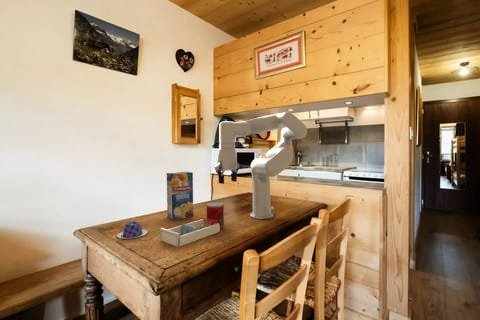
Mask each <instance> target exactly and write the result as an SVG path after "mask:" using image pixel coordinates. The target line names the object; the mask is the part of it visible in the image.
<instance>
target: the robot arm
mask: <svg viewBox="0 0 480 320" xmlns="http://www.w3.org/2000/svg"><path fill="white" fill-rule="evenodd" d="M218 128H219V129H218V130H219V133H218V134H219V135H218V136H219V150H218V152H217V159H216V160H217V161H216V165H215V166H214V170H215V172H216V175H217V176H218V177H217V178H218V184H221V185H224V184H225V175H224V174H225V172H226V171H231V174H230V176H231V177H230V179H231V182H234V183H235V182H237V181H238V179H237V175H238V171H239V169H240V166H241V165H240V163H238V158H237V151H236V138H244V137H247V136H249V135H251V134H252V135H253V134H254V135H255V134H262V133H263V134H264V133H266V132H271V131H277V130H280V129H281V130H280V140H279V142H278V143H276V145H274V146H273V147H272V148H270V149H269V150H267V152H266V154H265V157H257V158H255V159H253V160H252V161H251V163H250V173H251V178H252V211H251V212H250V213H249V216H250V218H253V219H257V220H266V219H272V218H273V217H274V213H272V211H273V210H274V209H275V206H274V205H273V206H271V181H270V177H272V178H274V177H276V176H278V175H280V174H281V173H282V172H283V171H284V170H285V169H286V168H288V167H289V166H290V164H291V163H292V162H293V159H294V153H293V151H292V150H293V144H292V143H293V142H292V141H293V140H303V139H304V138H306V136H307V135H308V128H307V125H306V124H304V122H302V120H300V119H299V118H298V117H297V116H296V115H294V114H293V113H291V112H289V111H284V112H280V113H279V112H278V113H274V114H270V115H269V114H268V115H263V116H259V117H255V118H251V119H248V120H244V121H243V120H242V121H237V122H235V121H227V120H226V121H225V120H224V121H221V122H220V123H219V127H218Z"/></svg>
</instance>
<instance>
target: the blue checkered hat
mask: <svg viewBox="0 0 480 320" xmlns="http://www.w3.org/2000/svg"><path fill="white" fill-rule="evenodd" d="M147 233H148V230H147V229H144V228H142V225H141V223H140V222H139V221H129V222H126V223H125V225H124V227H123V231H122V232H120V233H117V234H116V237H117V238H119V239H130V240H131V239H136V238H140V237H144V236H145V235H147ZM121 235H122V237H121Z"/></svg>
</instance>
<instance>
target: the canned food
mask: <svg viewBox="0 0 480 320" xmlns="http://www.w3.org/2000/svg"><path fill="white" fill-rule="evenodd" d="M224 206H225V205H224V203H223V202H219V201H218V202H216V201H214V202H208V203H206V227H208V226H211V225H214V224H217V223H219V224H220V230H222V229H223V228H225V227H224V225H225V224H224V223H225V219H224V218H225V217H224V216H225V214H224V213H225V212H224V211H225V209H224V208H225V207H224Z"/></svg>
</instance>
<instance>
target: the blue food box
mask: <svg viewBox="0 0 480 320" xmlns="http://www.w3.org/2000/svg"><path fill="white" fill-rule="evenodd" d="M166 204H167V205H166V207H167V208H166V209H167V213H166V214H167V218H169V219H170V220H171V221H174V220H181V219H186V218H191V217H194V172H192V171H178V172H177V171H175V172H172V171H171V172H166Z"/></svg>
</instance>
